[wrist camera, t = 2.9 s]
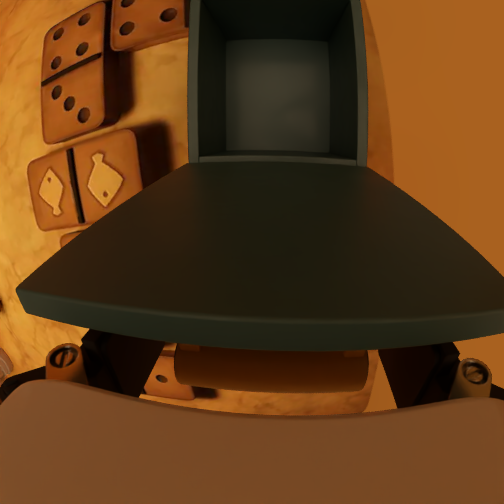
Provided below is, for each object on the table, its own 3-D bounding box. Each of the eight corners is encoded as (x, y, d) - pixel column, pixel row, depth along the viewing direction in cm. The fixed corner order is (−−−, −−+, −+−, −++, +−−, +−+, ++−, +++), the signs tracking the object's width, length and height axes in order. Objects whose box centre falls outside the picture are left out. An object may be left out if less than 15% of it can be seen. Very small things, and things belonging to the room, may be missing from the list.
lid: (13, 288, 5) (83, 407, 7) (530, 305, 4) (450, 423, 6) (186, 162, 19) (192, 230, 21) (368, 167, 18) (360, 234, 20)
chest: (220, 37, 25) (191, -8, 14) (333, 39, 23) (359, -6, 13) (220, 157, 30) (188, 168, 19) (334, 160, 29) (366, 172, 18)
